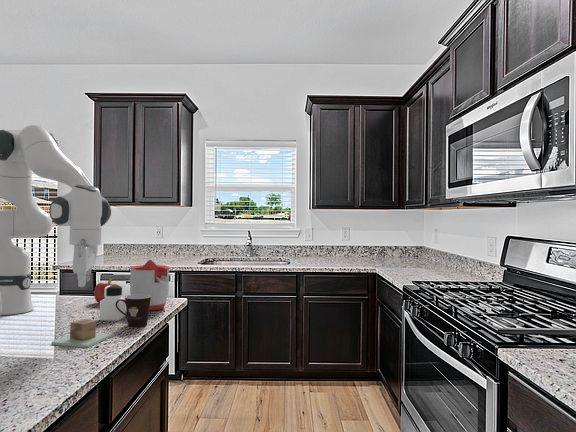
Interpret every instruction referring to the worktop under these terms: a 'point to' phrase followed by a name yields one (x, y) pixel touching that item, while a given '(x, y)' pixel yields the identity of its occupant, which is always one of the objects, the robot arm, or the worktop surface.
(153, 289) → the citrus juicer
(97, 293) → the vegetable
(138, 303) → the coffee mug
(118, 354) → the worktop surface
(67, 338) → the plate
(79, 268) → the robot arm
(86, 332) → the walnut cube
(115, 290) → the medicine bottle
